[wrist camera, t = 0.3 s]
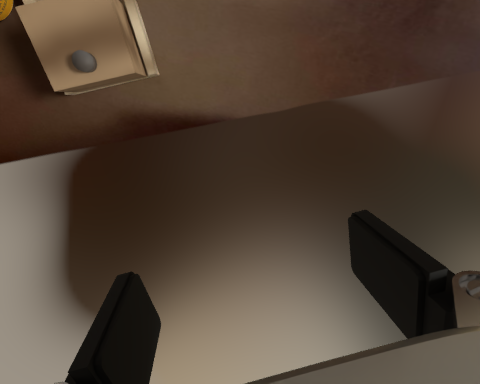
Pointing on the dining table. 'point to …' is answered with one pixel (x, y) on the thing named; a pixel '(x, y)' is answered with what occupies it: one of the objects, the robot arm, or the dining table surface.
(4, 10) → the beer can
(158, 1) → the dining table surface
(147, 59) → the vise base
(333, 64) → the dining table surface
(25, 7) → the block
